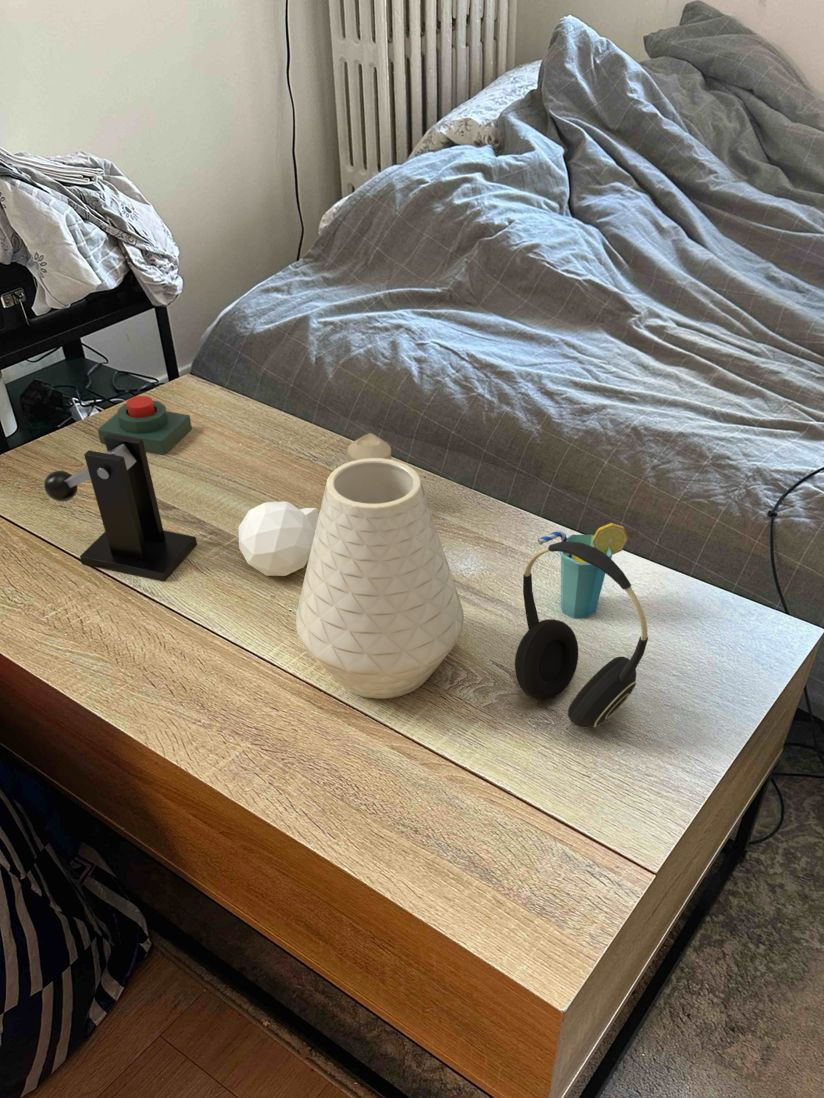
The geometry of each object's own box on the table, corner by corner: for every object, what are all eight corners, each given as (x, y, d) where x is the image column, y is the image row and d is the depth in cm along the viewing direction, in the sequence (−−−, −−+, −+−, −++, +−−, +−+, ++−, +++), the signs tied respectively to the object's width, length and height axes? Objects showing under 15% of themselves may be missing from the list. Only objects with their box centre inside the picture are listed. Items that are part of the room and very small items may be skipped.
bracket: (81, 564, 116) (48, 455, 106) (117, 528, 122) (89, 422, 112) (165, 581, 115) (139, 472, 105) (197, 544, 120) (176, 438, 110)
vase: (430, 738, 98) (429, 552, 82) (273, 698, 101) (244, 511, 85) (482, 633, 110) (490, 454, 95) (341, 600, 113) (327, 422, 98)
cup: (544, 637, 110) (553, 551, 102) (519, 606, 114) (525, 521, 106) (626, 611, 114) (641, 527, 106) (599, 582, 118) (611, 498, 110)
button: (123, 416, 136) (121, 405, 135) (137, 405, 139) (134, 394, 137) (147, 420, 135) (144, 409, 134) (160, 409, 138) (157, 398, 137)
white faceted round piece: (295, 590, 111) (349, 548, 121) (271, 516, 107) (329, 478, 116) (237, 590, 115) (293, 549, 124) (211, 518, 111) (272, 481, 120)
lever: (52, 510, 115) (31, 485, 113) (70, 495, 117) (50, 470, 116) (127, 478, 109) (106, 451, 107) (143, 462, 111) (123, 435, 109)
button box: (100, 443, 137) (94, 417, 135) (130, 417, 143) (124, 392, 140) (164, 455, 136) (159, 429, 133) (192, 428, 141) (187, 403, 139)
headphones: (602, 762, 96) (630, 606, 83) (491, 692, 103) (499, 536, 90) (650, 718, 101) (684, 563, 88) (541, 653, 108) (556, 500, 95)
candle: (356, 493, 131) (351, 426, 124) (396, 497, 130) (394, 430, 124) (347, 516, 127) (342, 448, 120) (388, 520, 126) (386, 452, 120)
